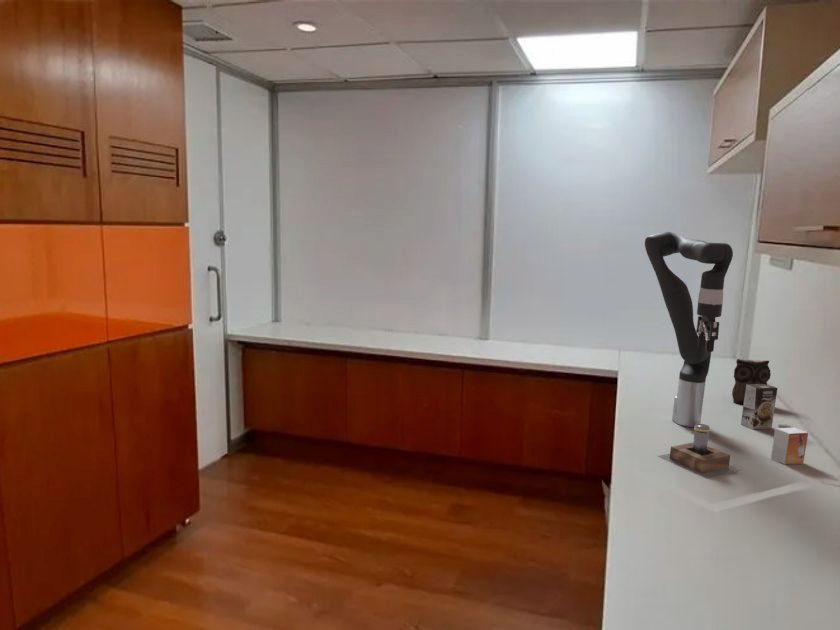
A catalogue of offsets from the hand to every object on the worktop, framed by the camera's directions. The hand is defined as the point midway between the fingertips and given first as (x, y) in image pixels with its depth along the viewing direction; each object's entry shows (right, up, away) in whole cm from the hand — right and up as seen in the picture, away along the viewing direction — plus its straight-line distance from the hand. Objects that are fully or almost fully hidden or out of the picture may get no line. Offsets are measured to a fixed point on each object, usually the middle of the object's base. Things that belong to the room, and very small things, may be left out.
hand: (705, 348), depth 207 cm
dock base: (-11, -36, -18) cm, 42 cm away
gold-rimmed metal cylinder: (-11, -35, -18) cm, 41 cm away
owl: (+46, -27, +58) cm, 79 cm away
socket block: (-11, -35, -19) cm, 41 cm away
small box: (+22, -36, -9) cm, 44 cm away
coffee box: (+32, -31, +26) cm, 51 cm away
